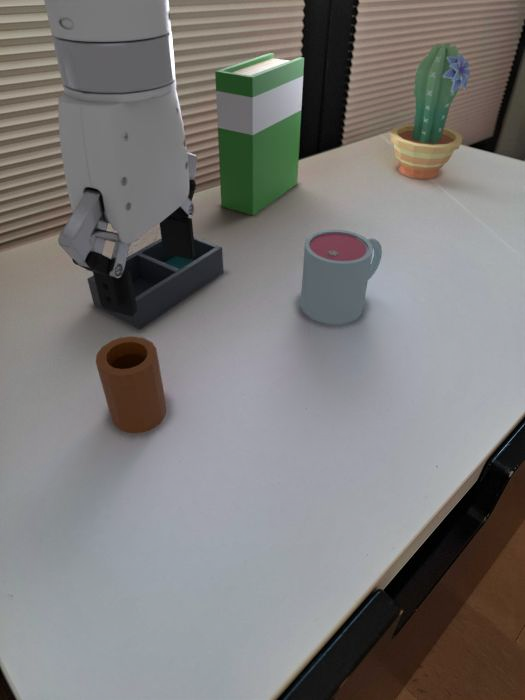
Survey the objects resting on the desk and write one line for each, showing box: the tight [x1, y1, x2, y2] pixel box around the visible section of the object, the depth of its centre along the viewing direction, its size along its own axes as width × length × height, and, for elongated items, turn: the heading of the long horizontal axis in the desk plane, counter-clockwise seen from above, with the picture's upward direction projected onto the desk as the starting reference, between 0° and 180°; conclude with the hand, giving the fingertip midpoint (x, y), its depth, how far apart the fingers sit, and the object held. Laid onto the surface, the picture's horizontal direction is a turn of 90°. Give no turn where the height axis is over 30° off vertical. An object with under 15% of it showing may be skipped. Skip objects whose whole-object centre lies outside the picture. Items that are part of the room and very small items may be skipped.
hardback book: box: [214, 52, 305, 216], centre depth 97 cm, size 18×7×24 cm, turn 148°
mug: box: [300, 229, 383, 325], centre depth 73 cm, size 14×9×10 cm
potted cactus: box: [390, 43, 471, 180], centre depth 107 cm, size 15×15×25 cm
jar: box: [95, 336, 167, 434], centre depth 56 cm, size 6×6×9 cm
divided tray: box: [86, 235, 224, 331], centre depth 77 cm, size 10×18×5 cm, turn 144°
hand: (151, 280), depth 45 cm, fingers open, 9 cm apart
